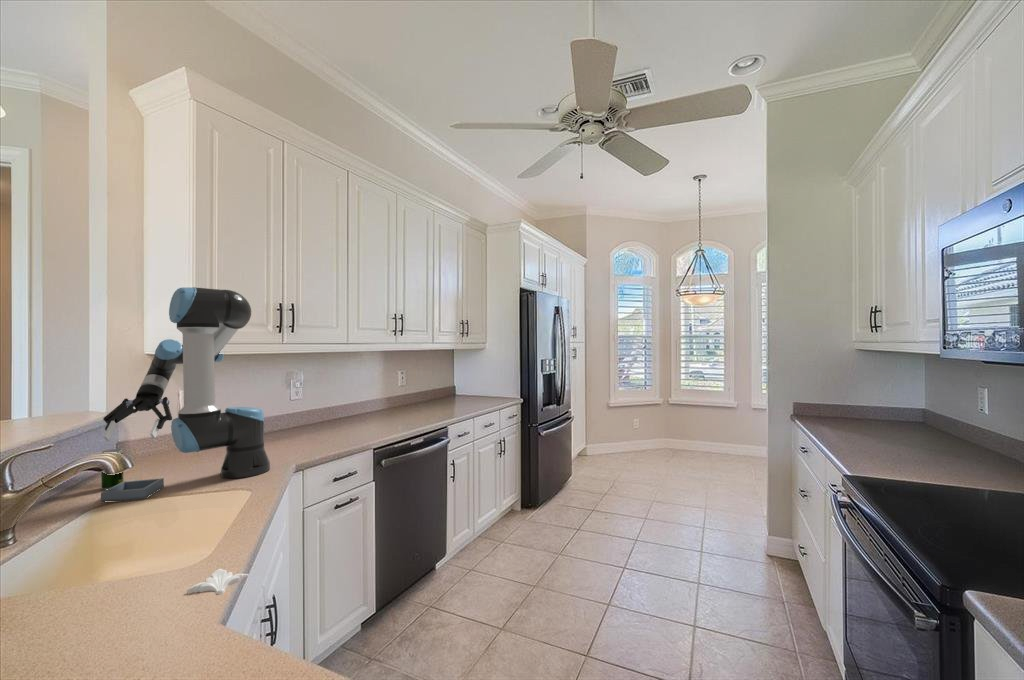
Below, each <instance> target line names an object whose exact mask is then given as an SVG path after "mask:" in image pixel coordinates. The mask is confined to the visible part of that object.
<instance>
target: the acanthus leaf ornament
mask: <svg viewBox="0 0 1024 680" xmlns="http://www.w3.org/2000/svg"><path fill="white" fill-rule="evenodd" d="M249 576H250V575H249V574H248V573H236V574H233V572H232V571H227V569H223V568H218V569H216V570H215V571H213V572H212V573H211V574H210V577H209V576H208V577H206V578H205V581H203V582H199V583H196V584H194V585H193V586H191V587H189V588H188V589H187V590H186V594H187V595H189V594H192V593H194V594H196V593H203V592H215V594H216V595H223V594H224V593H225V592H226V588H228V587H229V586H231V585H233V584H235V583H238V582H240V581H241V580H243V579H245V578H247V577H249Z"/></svg>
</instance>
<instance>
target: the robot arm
mask: <svg viewBox="0 0 1024 680" xmlns="http://www.w3.org/2000/svg"><path fill="white" fill-rule="evenodd" d="M168 316H169V320H170V322H172V323H174V324H176V329H177V330H178V331H179V332H180V333H181V334H182V343H181V342H180V341H178V340H175V339H170V338H167V339H164V340H162V341H160V342H159V344H158V345H157V347H156V348H155V351H154V355H153V357H152V360H151V363H150V366H149V368H148V369H147V372H146V375H145V376H144V377H143V380H142V382H141V383H140V387H139V389H138V390H137V392H136V395H135V397H134V399H129V398H124V399H123V400H122V401H121V403H120V404H119V405H117V406H116V407H114V409H113V410H111V411H110V412H109V413H108V414H107V415H105V416H104V417H103V418H102V419H103V421H104V422H105V424H106V426H105V428H104V430H105V432H104V434H103V436H102V437H103V438H104V440H105V441H107V442H110V440H111V438H112V437H113V434H114V432H115V431H116V428H117V427H118V424H117V423H119V422H121V421H123V420H124V419H125V418H127V417H129V416H131V415H132V414H136V413H137V412H149V411H150V410H152V412H154V413H155V415H156V416H157V417H158V418H156V419H155V421H154V424H153V426H152V428H151V429H150V433H149V435H150V437H151V438H152V439H156V437H157V435H158V432H159V430H161V429H163V427H164V424H166V423H165V422H167V421H171V425H170V428H171V435H172V440H173V442H174V444H175V448H176V449H178V451H179V452H181V453H184V454H189V453H199V452H201V451H202V452H203V451H209V450H214V449H219V448H224V447H226V448H225V449H226V453H225V456H224V459H223V461H222V465H221V468H220V476H221V478H225V479H240V478H248V477H249V478H250V477H253V476H259V475H261V474H264V473H267V472H268V471H269V470H271V462H270V460H269V457H268V454H267V451H266V449H265V418H264V411H263V410H262V409H261V408H260V407H248V406H241V407H240V406H232V407H231V406H228V407H226V408H225V410H224V412H222V409H221V407H219V405H217V404H216V387H215V386H216V379H215V378H216V376H215V375H216V374H215V368H216V367H215V363H220V362H222V361H223V359H224V356H225V353H224V354H219V353H220V351H221V350H222V349H225V347H226V345H227V344H228V343H229V342H230V340H231V339H232V338H233V336H234V335H235V334H236V333H237V332H238V330H239V329H242V328H244V327H246V326H247V324H248V323H249V322H250V319H251V317H252V307H251V305H250V303H249V301H248V300H247V299H246V297H244V295H242V294H241V293H238V292H237V291H234V290H230V289H216V288H207V287H195V286H194V287H185V286H184V287H179V288H177V289H176V290H175V291H174V292H173V294H172V296H171V298H170V302H169V307H168ZM177 365H182V369H183V370H182V375H183V376H182V377H183V407H182V408H181V409H179V411H178V413H177V415H178V417H176V418H173V416H172V413H171V412H172V411H171V410H170V406H169V405H170V400H169V398H168V397H167V396H165V397H164V393H165V391H166V388H167V386H168V385H169V382H170V380H171V377H172V376H173V373H174V371H175V369H176V367H177ZM160 404H161V405H162V407H163V411H164V413H165V415H163V414H162V412H161V411H160V410H159V409H158V408H157V406H158V405H160Z"/></svg>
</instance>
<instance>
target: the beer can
mask: <svg viewBox="0 0 1024 680" xmlns="http://www.w3.org/2000/svg"><path fill="white" fill-rule="evenodd" d="M104 452H117V453H121V454H123V455H124V452H123V449H122V448H112V449H107V450H103V451H101V454H102V453H104ZM100 473H101V474H100V475H101V476H100V477H101V478H100V479H101V481H100V482H101V489H102V490H103V489H104V490H103V491H106V489H110V488H111V487H113V486H115V485H117V484H119V483H121V482H123V481H124V471H123V472H122V473H119V474H115V475H107V474H105V473H103V472H101V471H100Z"/></svg>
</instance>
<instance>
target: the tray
mask: <svg viewBox="0 0 1024 680" xmlns="http://www.w3.org/2000/svg"><path fill="white" fill-rule="evenodd" d="M164 479H165V478H164V477H163V478H152V479H151V478H150V479H137V480H136V479H135V480H126V481H123V482H121V483H119V484H117V485H115V486H113V487H111V488H110V489H108V490H103V491H102V492H100V503H101V502H105V501H120V502H129V501H139V500H140V501H141V500H146V499H148V498H149V497H150V496H149V495H151V494H153V493H154V492H156V491H157V490H159V489H161V488H162V487H164V488H165V480H164ZM162 489H163V488H162ZM162 489H161V490H162ZM159 491H160V490H159ZM157 492H158V491H157ZM157 492H156V493H157ZM154 494H155V493H154ZM154 494H153V495H154ZM148 496H149V497H148ZM151 496H152V495H151ZM147 497H148V498H147Z"/></svg>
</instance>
